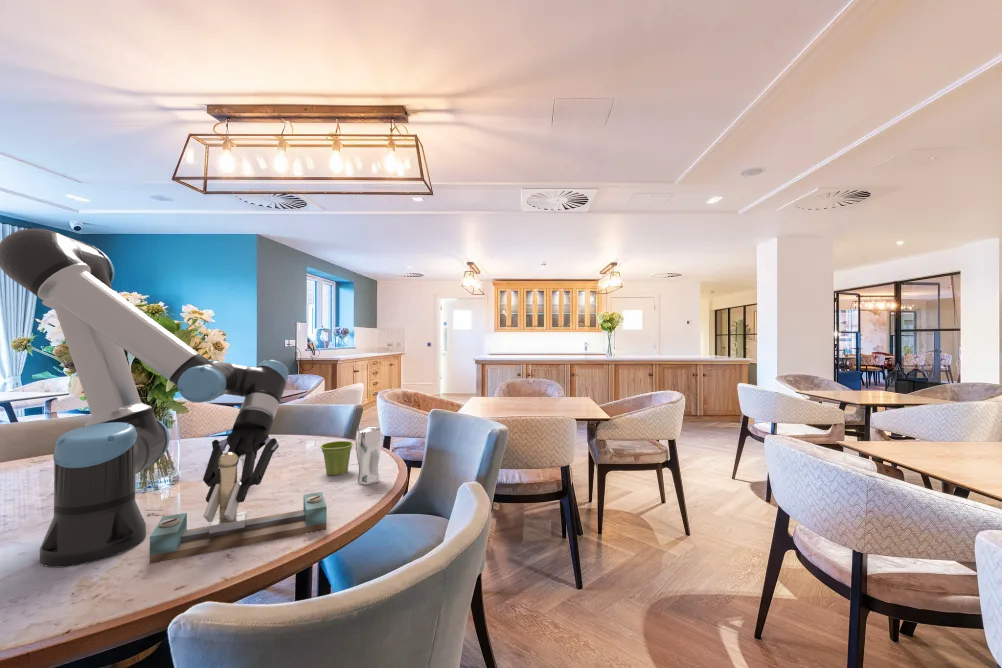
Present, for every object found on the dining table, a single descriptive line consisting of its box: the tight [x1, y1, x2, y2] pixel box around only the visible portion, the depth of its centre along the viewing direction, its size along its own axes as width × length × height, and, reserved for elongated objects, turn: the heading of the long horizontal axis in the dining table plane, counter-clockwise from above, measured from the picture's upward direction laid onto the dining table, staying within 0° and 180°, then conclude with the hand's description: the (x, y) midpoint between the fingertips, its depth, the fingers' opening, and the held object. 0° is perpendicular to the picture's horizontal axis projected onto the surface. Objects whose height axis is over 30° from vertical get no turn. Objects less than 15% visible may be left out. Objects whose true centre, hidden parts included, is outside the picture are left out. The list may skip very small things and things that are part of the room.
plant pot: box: [320, 440, 354, 476], centre depth 131 cm, size 9×9×9 cm
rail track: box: [148, 491, 328, 565], centre depth 89 cm, size 30×10×6 cm, turn 118°
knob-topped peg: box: [208, 451, 247, 534], centre depth 87 cm, size 6×5×15 cm
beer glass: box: [355, 426, 382, 486], centre depth 123 cm, size 7×7×15 cm
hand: (218, 518), depth 83 cm, fingers closed on knob-topped peg, 3 cm apart
